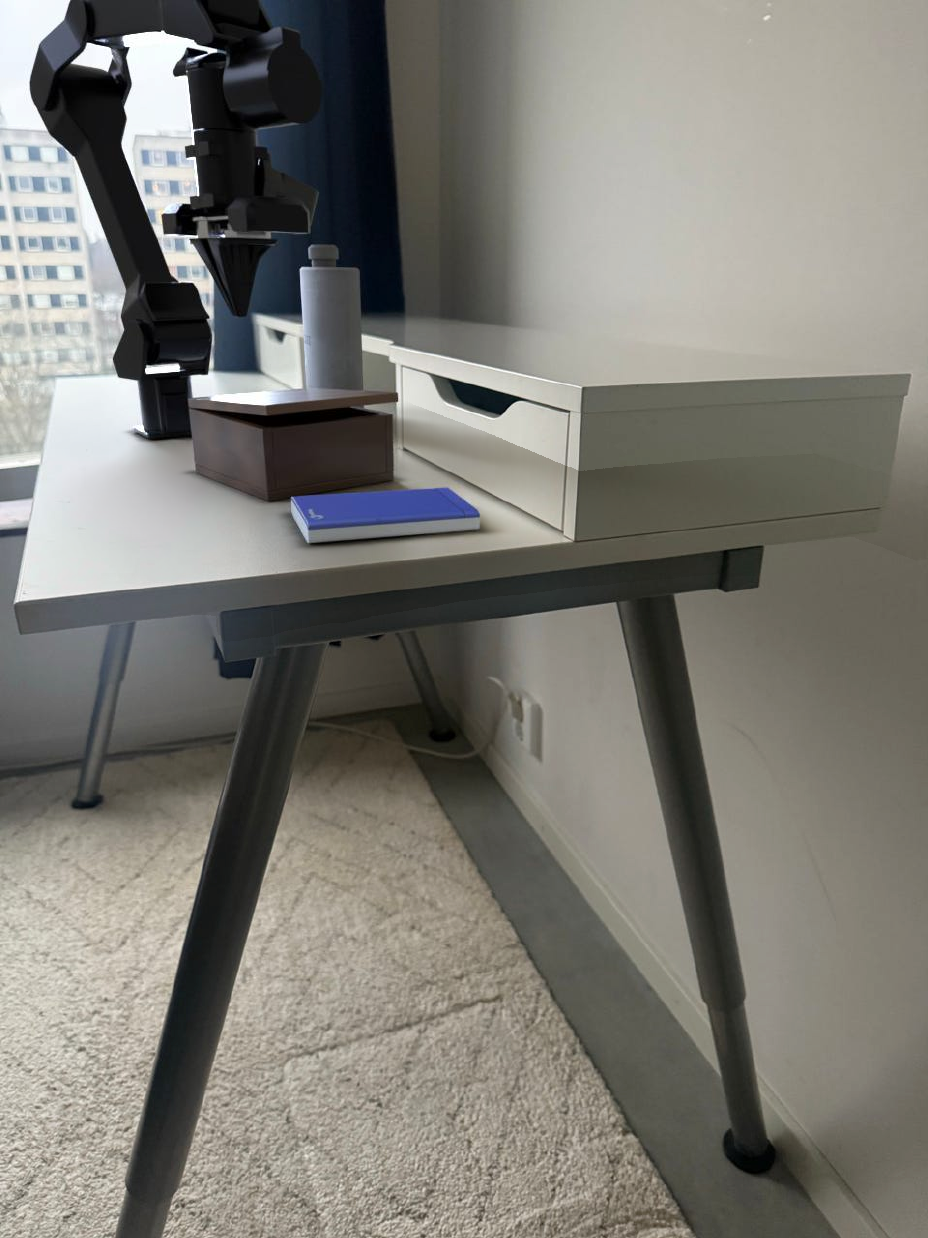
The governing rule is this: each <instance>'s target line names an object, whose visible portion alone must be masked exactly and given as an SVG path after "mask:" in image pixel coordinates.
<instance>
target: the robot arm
mask: <svg viewBox="0 0 928 1238" xmlns="http://www.w3.org/2000/svg"><path fill="white" fill-rule="evenodd" d="M273 25H274V24H273V23H272V21H271V20H270V17H269V15H268V14H267V12H266V10H265V8H264V6H263V4H262V2H261V0H69V2H68V4H67V8H66V12H65V15H64V18H63V20H62V21H61V22H59V24H58V25H57V26H55V28H54V29H52V30H51V32H49V33H48V34H47V35H46V36H45V37H44V38H43V39H42V40H41V41H40V42H39V44H38V47H37V51H36V53H35V56H34V57H35V58H34V61H33V65H32V68H31V73H30V76H29V93H30V99H31V101H32V103H33V105H34V106H35V108H36V110H37V113H38V114H39V117H40V118H41V120H42V122H43V124H44V126H45V128H46V130H47V132H48V135H49V136H50V137H51V138H52V139H54V141H55V142H56V143H58V144H59V145H60V146H61V147H62V148H63V149H64V150H65V151H66V152H67V153H69V154H70V155H71V156H72V157H73V159H75V161H76V164H77V166H78V169H79V171H80V174H81V177H82V179H83V182H84V185H85V187H86V190H87V193H88V195H89V197H90V200H91V202H92V205H93V207H94V210H95V213H96V215H97V218H98V221H99V223H100V226H101V228H102V231H103V233H104V235H105V239H106V240H107V244H108V247H109V249H110V251H111V254H112V257H113V259H114V262H115V264H116V267H117V270H118V273H119V275H120V277H121V280H122V283H123V285H124V289H125V294H124V299H123V303H122V307H121V312H120V320H121V324H122V327H123V331H122V334H121V336H120V339H119V341H118V344H117V346H116V348H115V351H114V354H113V356H112V362H113V365H114V368H115V372H116V375H117V378H118V379H123V380H129V381H134V382H135V381H136V384H137V385H136V386H137V391H138V399H139V408H140V415H141V423H142V425H133V431H134V432H136V433H138V434H140V435H142V436H143V437H145V438H147V439H151V440H153V439H161V438H164V439H165V438H171V437H184V436H192V432H191V422H190V413H189V408H190V407H189V404H188V398H194V393H193V392H194V391H193V383H192V376H208V375H209V371H210V362H211V356H212V355H211V354H212V346H213V332H212V328H211V325H210V323H209V321H208V320H210V318H211V317H210V315H209V313H208V312H207V311H206V308H205V306H204V305H203V301H202V298H201V295H200V291H199V288H197V286H196V285H195V283H194V282H193V281H179V280H178V279H176V277H174V275H173V274H172V272H171V270H170V267H169V266H168V263H167V260H166V257H165V255H164V252H163V250H162V247H161V245H160V242H159V239H158V237H157V234H156V232H155V229H154V226H153V224H152V221H151V218H150V216H149V213H148V210H147V208H146V205H145V203H144V200H143V197H142V195H141V192H140V190H139V187H138V184H137V182H136V179H135V177H134V174H133V172H132V169H131V167H130V163H129V161H128V159H127V158H128V157H127V155H126V152H125V150H124V147H123V143H122V142H123V139H124V134H125V130H126V124H127V122H128V117H127V113H126V109H125V105H126V103H127V100H128V97H129V95H130V92H131V90H132V87H133V81H132V77H131V73H130V67H129V63H128V59H127V56H128V54H129V51H130V48H131V47H139V46H145V45H146V46H147V45H153V44H154V45H155V44H163V43H172V42H182V41H191V42H194V43H195V44H196V45H197V46H200V47H204V48H209V49H214V50H218V51H223V52H225V53H223V52H208V51H207V50H205V49H199V48H196V47H191V46H187V47H186V48H185V50H184V53H183V55H182V56H181V58H180V59H179V60H178V61H177V62H176V63H175V65H174V67H173V69H172V75H173V77H174V78H176V79H181V80H186V84H187V95H188V105H189V107H188V108H189V115H190V116H189V117H190V127H191V137H192V144H188V145H185V146H184V152H185V154H184V155H185V160H194V169H195V179H196V187H197V195H192V196H189V203H185V202H184V203H176V204H175V203H174V204H169V205H168V206H167V207H166V208H165V210H164V211H163V212H162V213H161V214H160V215H161V222H162V232H163V234H162V235H163V236H170V237H171V236H175V237H193V238H188V240H189V244H190V245H192V246H194V248H195V250H196V252H197V253H198V255H199V256H200V259H201V261H202V262H203V264H204V266H205V267H206V269H207V270H208V272H209V274H210V276H211V277H212V280H213V281H214V283H215V284H216V287H217V289H218V291H219V292H220V294H221V296H222V298H223V300H224V302H225V304H226V305H227V307H228V309H229V311H230V314H231V315H232V316H233V318H246V317H247V316H248V313H249V308H250V303H251V298H252V293H253V290H254V285H255V280H256V275H257V271H258V268H259V264H260V261H261V259H262V257H263V256H264V255H265V254H266V253H267V252H268V251H269V250H270V249H271V248H272V247H273V246H276V245H277V244H278V243H279V238H272V235H271V233H283V234H285V233H286V234H287V233H288V234H290V235H307V234H311V226H312V224H313V220H314V215H315V211H316V207H317V203H318V199H319V194H320V193H319V191H318V190H317V189H316V188H314V187H312V186H310V185H308V184H306V183H304V182H302V181H300V180H299V179H297V178H295V177H293V176H291V175H289V174H287V173H285V172H282V171H279V170H277V169H276V168H273V166H272V160H271V159H272V158H271V153H270V152H269V151H268V147H267V146H259V142H258V130H266V129H272V128H274V129H275V128H281V127H287V126H289V127H290V126H295V125H302V124H308V123H309V122H311V121H313V120H314V118H316V116H317V115H318V113H319V111H320V109H321V105H322V101H323V91H324V90H323V83H322V80H321V79H320V76H319V72H318V69H317V66H316V65H315V63H314V61H313V59H312V58H311V56H310V55H309V54H308V52H307V51H305V50H304V48H303V47H302V35H301V32H300V31H299V30H297V29H293V28H289V27H286V26H282V25H280V26H276V27H275V26H273ZM87 45H89V46H95V47H99V48H104V49H109V51H110V55H111V62H110V65H109V67H108V70H105V69H102V68H99V67H92V66H88V65H82V64H76V63H73V62H74V61H76V59H77V58H78V57H80V55H81V54H83V53H84V51H85V50H86V48H87ZM195 237H196V238H195ZM165 365H167V366H165ZM168 365H174V366H168ZM147 366H149V367H151V368H147ZM153 366H155V367H153ZM156 366H161V367H156ZM163 366H164V367H163Z"/></svg>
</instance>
